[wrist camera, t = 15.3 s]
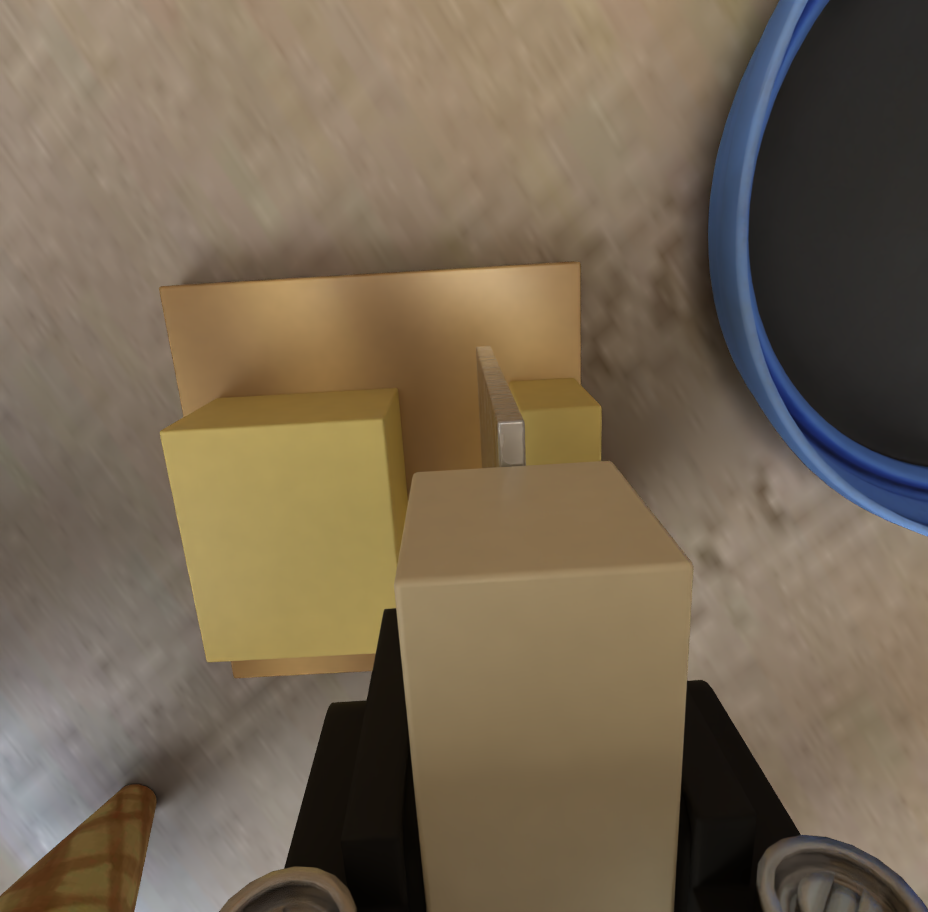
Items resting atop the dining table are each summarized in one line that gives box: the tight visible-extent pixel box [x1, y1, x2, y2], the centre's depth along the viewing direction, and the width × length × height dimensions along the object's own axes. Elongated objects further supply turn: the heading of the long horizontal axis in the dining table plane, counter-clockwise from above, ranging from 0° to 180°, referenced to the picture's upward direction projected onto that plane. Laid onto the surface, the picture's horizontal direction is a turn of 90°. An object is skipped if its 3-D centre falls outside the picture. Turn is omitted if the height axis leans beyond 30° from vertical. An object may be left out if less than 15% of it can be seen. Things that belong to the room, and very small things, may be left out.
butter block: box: [160, 388, 408, 662], centre depth 17 cm, size 5×6×4 cm
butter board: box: [159, 262, 581, 678], centre depth 19 cm, size 11×12×1 cm
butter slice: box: [509, 378, 602, 466], centre depth 17 cm, size 2×6×4 cm, turn 3°
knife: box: [394, 346, 693, 912], centre depth 10 cm, size 2×9×8 cm, turn 3°
